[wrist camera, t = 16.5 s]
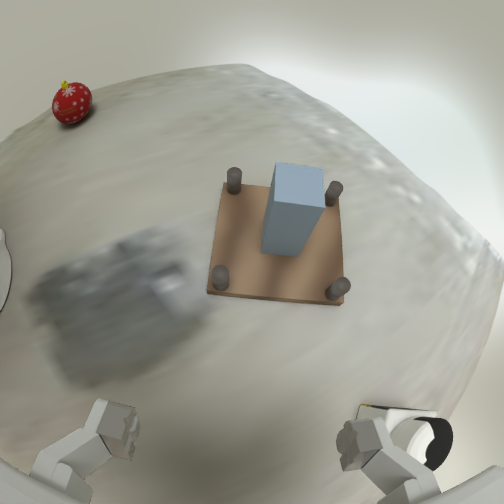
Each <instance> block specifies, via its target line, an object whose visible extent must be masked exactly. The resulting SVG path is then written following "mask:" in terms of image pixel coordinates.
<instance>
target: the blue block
mask: <svg viewBox="0 0 504 504" xmlns="http://www.w3.org/2000/svg"><path fill="white" fill-rule="evenodd" d="M324 210H325V193H324V180H323V169H321V168H315V167H309V166H302V165H296V164H289V163H282V162H276V164H275V169H274V173H273V178H272V183H271V187H270V192H269V196H268V201H267V205H266V210H265V214H264V219H263V230H262V243H261V253H266V254H275V255H284V256H294V257H298V256H299V254H300V253H301V251H302V249H303V247H304V246H305V244H306V242H307V240H308V238H309V237H310V235H311V233H312V231H313V229H314V228H315V226H316V224H317V222H318V220H319V219H320V217H321V215H322V213H323V211H324Z"/></svg>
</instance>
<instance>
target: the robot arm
mask: <svg viewBox="0 0 504 504" xmlns="http://www.w3.org/2000/svg"><path fill="white" fill-rule="evenodd" d="M10 280H11V259H10V255H9V252H8V250H7V247H6V245H5V232H4V230H2V229H0V310H1V309H2V307H3V305H4V302H5V300H6V297H7V294H8V290H9V286H10ZM135 415H136V410H135V407H131V406H127V405H123V404H119V403H115V402H111V401H108V400H105V399H101V398H98V399H97V400H96V401H95V403H94V405H93V407H92V410H91V412H90V414H89V416H88V418H87V421H86V423H85V425H84V428H78V429H77V430H75V431H73V432H72V433H70V434H68V435H67V436H65V437H63V438H62V439H60V440H58V441H57V442H55V443H53V444H51V445H50V446H48V447H46V448H45V449H43V450H41V451H40V452H39V454H38V456H37V458H36V461H35V463H34V465H33V467H32V470H31V472H30V474H29V476H28V475H27V474H25V473H23V472H22V471H20V470H18V469H17V468H15V467H14V466H12V465H11V464H9V463H7V462H6V461H4V460H3V459H2V458H0V504H90V501H91V497H92V493H93V490H92V488H91V487H90V486H89V485H88V484H87V483H86V482H85V481H84V479H85V478H87V477H88V476H89V475H90V474H91V473H93V472H94V471H95V470H96V469H98V468H99V467H100V466H101V465H102V464H104V463H105V462H106V461H107V460H108V459H110V458H111V457H112V456H115V457H119V458H123V459H127V460H132V457H133V453H134V449H135V446H134V444H133V442H134V441H135V440H137V439H138V435H139V429H140V423H139V419H138V418H137V417H136V416H135ZM336 446H337V450H338V451H339V452H340V453H341V454H342V456H341V457H340V462H341V466H342V470H343V471H350V470H357V469H361V470H362V471H363V472H364V473H365V474H366V476H367V477H368V478H369V479H370V480H371V481H372V482H373V483H374V484H375V485H377V486H378V487H379V488H380V489H381V490H382V491H383V492H384V493H385V494H386V496H385V497H383V498H382V499H381V500H379V501H378V502H377V504H504V468H502V467H500V466H497V465H494V466H491V467H489V468H487V469H486V470H484V471H482V472H481V473H479V474H477V475H476V476H474V477H472V478H470V479H468V480H467V481H465V482H463V483H461V484H459V485H457V486H455V487H453V488H451V489H449V490H447V491H445V492H443V493H441V491H440V489H439V486H438V484H437V481H436V479H435V476H434V474H433V471H432V470H430V469H429V468H427V467H426V466H425V465H423V464H422V463H420V462H419V461H417V460H416V459H415V458H413V457H412V456H411V455H409V454H408V453H406V452H405V451H404V450H402V449H401V448H400V447H398V446H394V445H393V442H392V440H391V437H390V435H389V432H388V430H387V427H386V425H385V422H384V420H383V418H382V417H379V416H378V417H372V418H363V419H356V420H348V421H346V422H345V424H344V429H342V430H341V431H339V433H338V435H337V439H336ZM111 455H112V456H111Z"/></svg>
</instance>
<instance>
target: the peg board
mask: <svg viewBox="0 0 504 504" xmlns="http://www.w3.org/2000/svg"><path fill="white" fill-rule="evenodd" d="M241 178H242V171H241V170H240V169H239V168H237V167H232V168H230V169H229V170H228V171H227V183H225V182H224V184H223V189H222V195H221V201H220V207H219V213H218V219H217V225H216V231H215V238H214V244H213V250H212V257H211V264H210V271H209V278H208V285H207V293H208V294H214V295H223V296H232V297H241V298H251V299H261V300H272V301H284V302H296V303H309V304H323V305H339V306H340V305H341V304H343V303H344V294H345V293H347V292H348V291H349V290H350V287H351V284H350V281H349V280H348V279H347V278H345V277H343V253H342V236H341V222H340V210H339V199H338V198H339V196H340V194H341V192H342V191H343V185H342V184H341V183H340V182H338V181H332V182H331V183H330V185H329V187H328V189H327V191H326V193H325V210H324V211H323V213H322V215H321V217H320V219H319V220H318V222H317V224H316V226H315V228H314V229H313V231H312V233H311V235H310V237H309V238H308V240H307V242H306V244H305V246H304V247H303V249H302V251H301V253H300V254H299V256H298V257H294V256H284V255H275V254H266V253H261V243H262V230H263V219H264V214H265V210H266V205H267V201H268V196H269V192H270V187H263V186H254V185H245V184H241Z"/></svg>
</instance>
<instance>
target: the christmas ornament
mask: <svg viewBox="0 0 504 504" xmlns="http://www.w3.org/2000/svg"><path fill="white" fill-rule="evenodd" d="M61 85H62V88H61V89H60V90H59V91H58V92H57V94H56V95H55V97H54V99H53V103H52V110H53V114H54V116H55V117H56V119H57V120H59V121H60V122H62V123H65V124H72V123H76V122H78V121H80V120H81V119H83V118H84V117H85V116H86V114H87V113H88V112H89V110H90V108H91V104H92V95H91V92H90V90H89V89H88V87H86V86H85V85H84V84H81V83H70V84H68V83H67V82H66V81H63V82H62V84H61Z"/></svg>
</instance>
